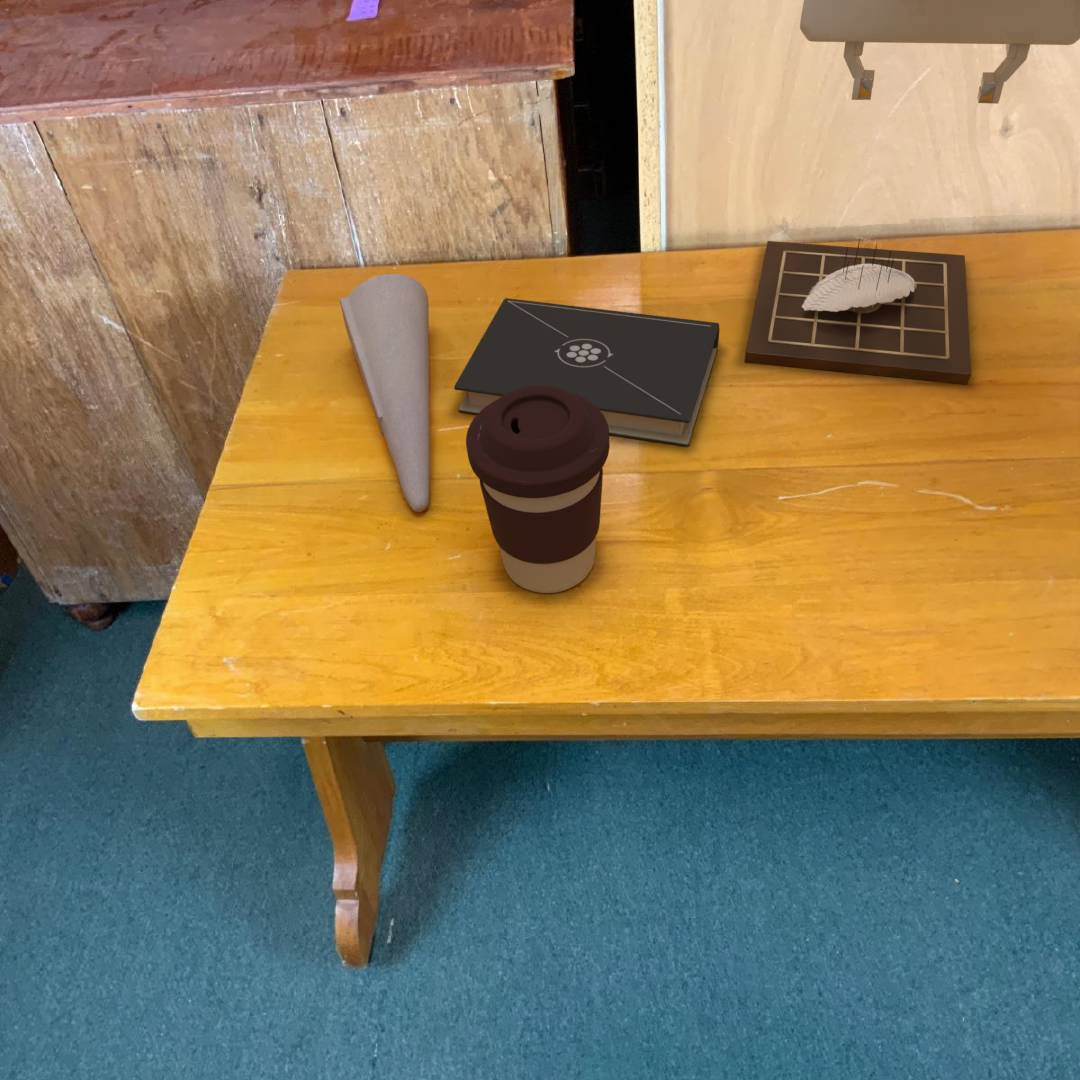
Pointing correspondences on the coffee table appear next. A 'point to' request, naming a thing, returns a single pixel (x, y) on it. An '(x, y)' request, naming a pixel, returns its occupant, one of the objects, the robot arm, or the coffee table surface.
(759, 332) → the board
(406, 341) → the grey tapered cone
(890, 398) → the coffee table surface
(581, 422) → the coffee cup
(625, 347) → the book
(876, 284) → the pincushion
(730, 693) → the coffee table surface
